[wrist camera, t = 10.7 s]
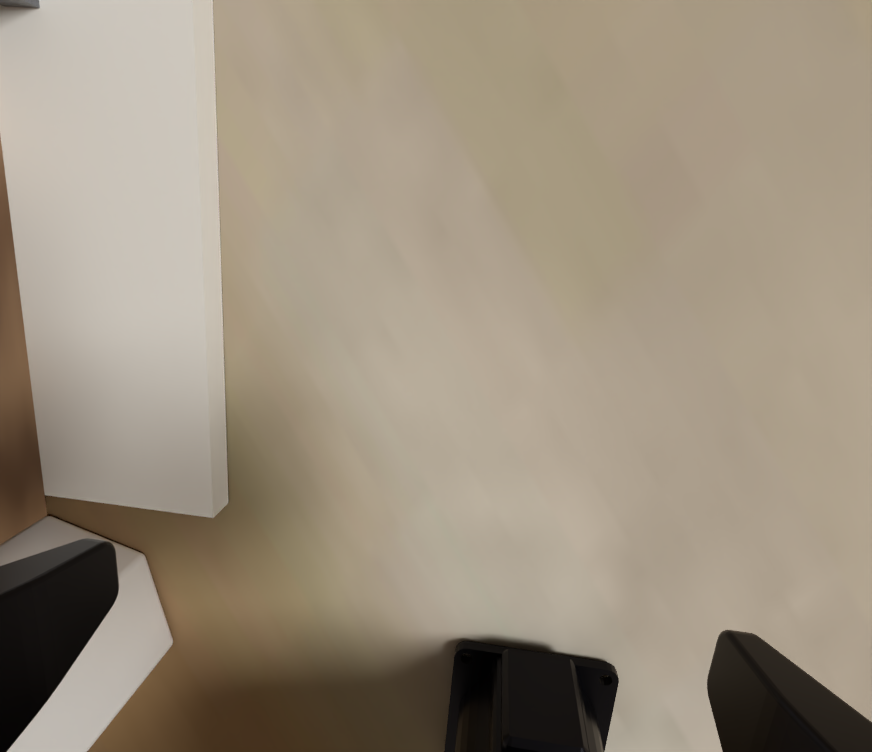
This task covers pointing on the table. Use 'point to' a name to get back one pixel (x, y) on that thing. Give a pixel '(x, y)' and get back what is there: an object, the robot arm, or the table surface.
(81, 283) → the mounting board
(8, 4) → the bracket
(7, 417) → the walnut rail
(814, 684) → the robot arm
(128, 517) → the table surface
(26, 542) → the jar
